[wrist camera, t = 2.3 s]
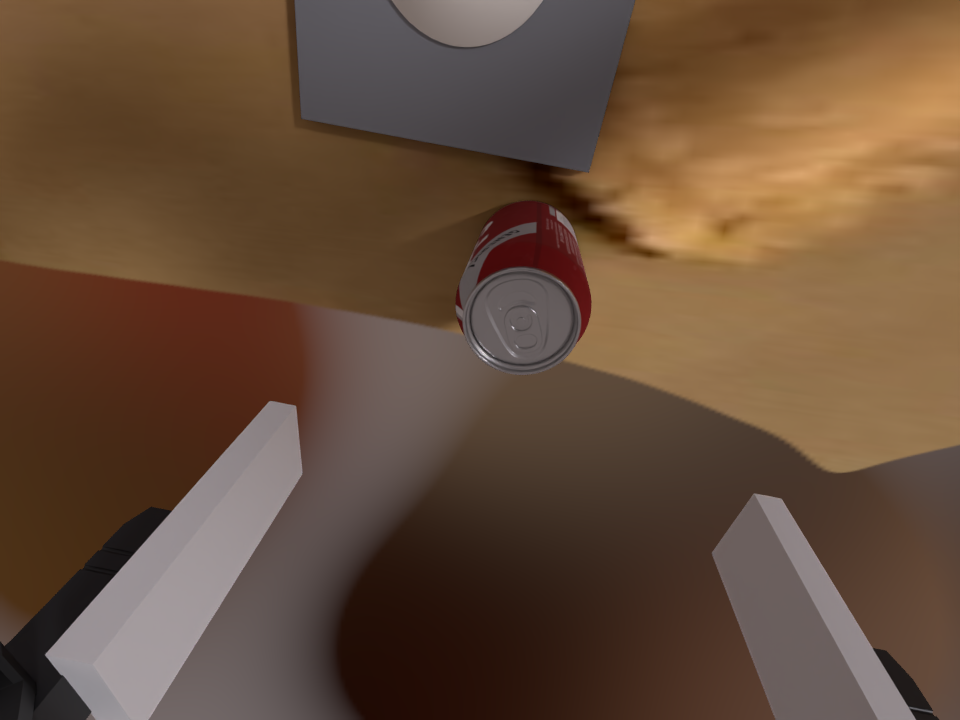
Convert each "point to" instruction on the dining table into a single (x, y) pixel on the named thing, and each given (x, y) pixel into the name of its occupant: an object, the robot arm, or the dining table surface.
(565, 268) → the soda can
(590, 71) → the board
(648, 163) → the dining table surface
